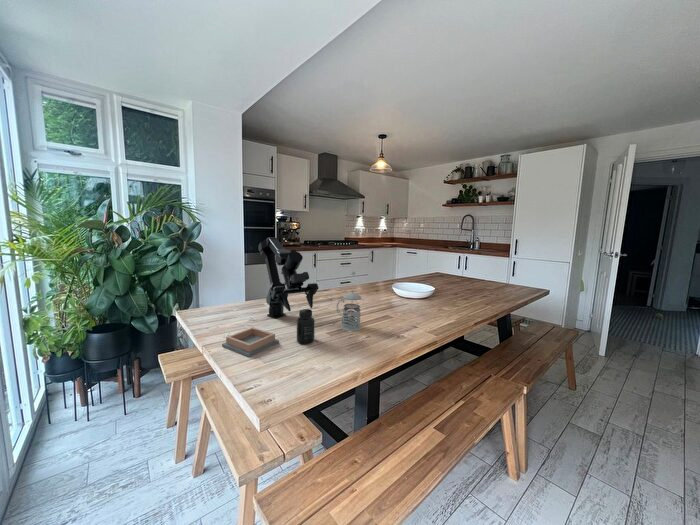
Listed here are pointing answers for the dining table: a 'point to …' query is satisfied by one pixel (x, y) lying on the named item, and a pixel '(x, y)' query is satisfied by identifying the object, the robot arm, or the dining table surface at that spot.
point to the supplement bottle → (305, 327)
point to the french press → (351, 313)
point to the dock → (250, 341)
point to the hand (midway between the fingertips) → (301, 309)
